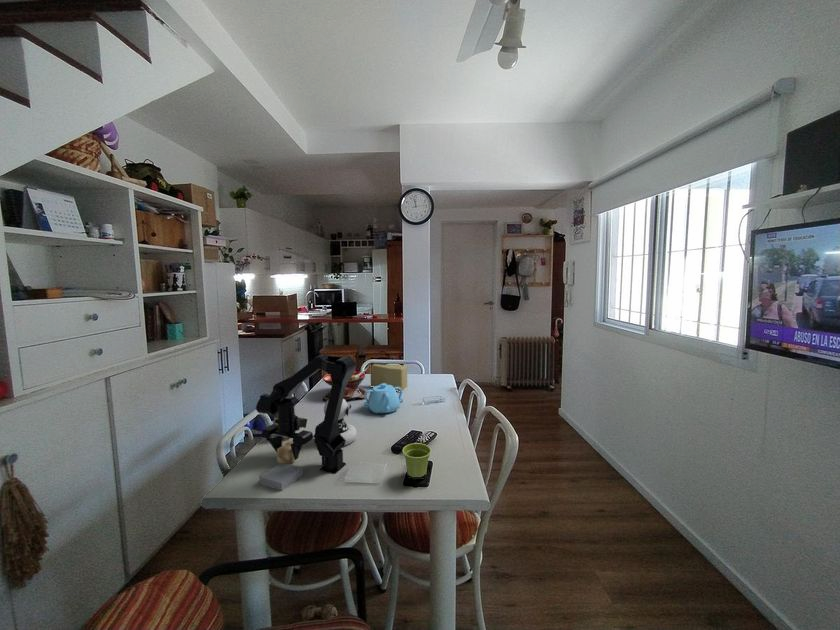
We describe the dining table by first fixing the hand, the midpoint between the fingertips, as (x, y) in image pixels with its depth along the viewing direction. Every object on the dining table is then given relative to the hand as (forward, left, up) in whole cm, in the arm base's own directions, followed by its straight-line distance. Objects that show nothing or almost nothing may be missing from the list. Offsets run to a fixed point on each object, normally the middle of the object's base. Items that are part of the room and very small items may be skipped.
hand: (288, 457), depth 118 cm
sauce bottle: (+14, -12, -1) cm, 18 cm away
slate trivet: (-7, +10, -1) cm, 12 cm away
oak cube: (0, 0, -1) cm, 1 cm away
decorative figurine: (-8, -19, -1) cm, 21 cm away
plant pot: (-47, -8, -1) cm, 48 cm away
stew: (+19, -65, -1) cm, 68 cm away
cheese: (+3, -83, -1) cm, 84 cm away
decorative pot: (-10, -54, -1) cm, 55 cm away
